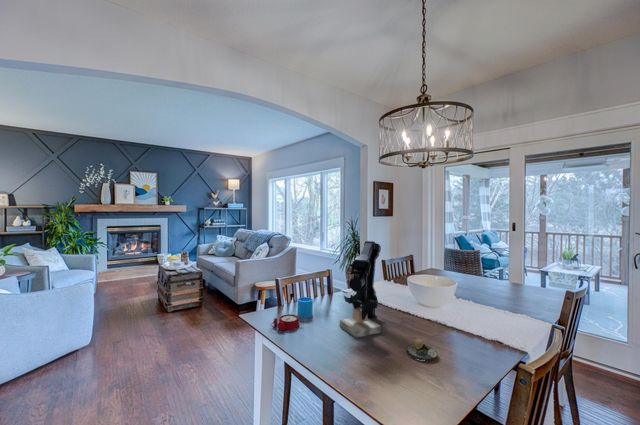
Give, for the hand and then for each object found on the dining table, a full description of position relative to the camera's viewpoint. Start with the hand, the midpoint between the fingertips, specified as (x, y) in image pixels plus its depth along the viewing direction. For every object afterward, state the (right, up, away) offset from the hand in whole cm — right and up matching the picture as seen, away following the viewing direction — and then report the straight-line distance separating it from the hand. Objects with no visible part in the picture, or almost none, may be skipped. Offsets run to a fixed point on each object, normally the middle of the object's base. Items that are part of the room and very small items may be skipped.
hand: (360, 317), depth 139 cm
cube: (0, -1, 0) cm, 1 cm away
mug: (-28, -5, +19) cm, 34 cm away
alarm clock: (-36, -5, +1) cm, 36 cm away
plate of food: (+22, -7, -23) cm, 32 cm away
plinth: (0, -6, 0) cm, 6 cm away
